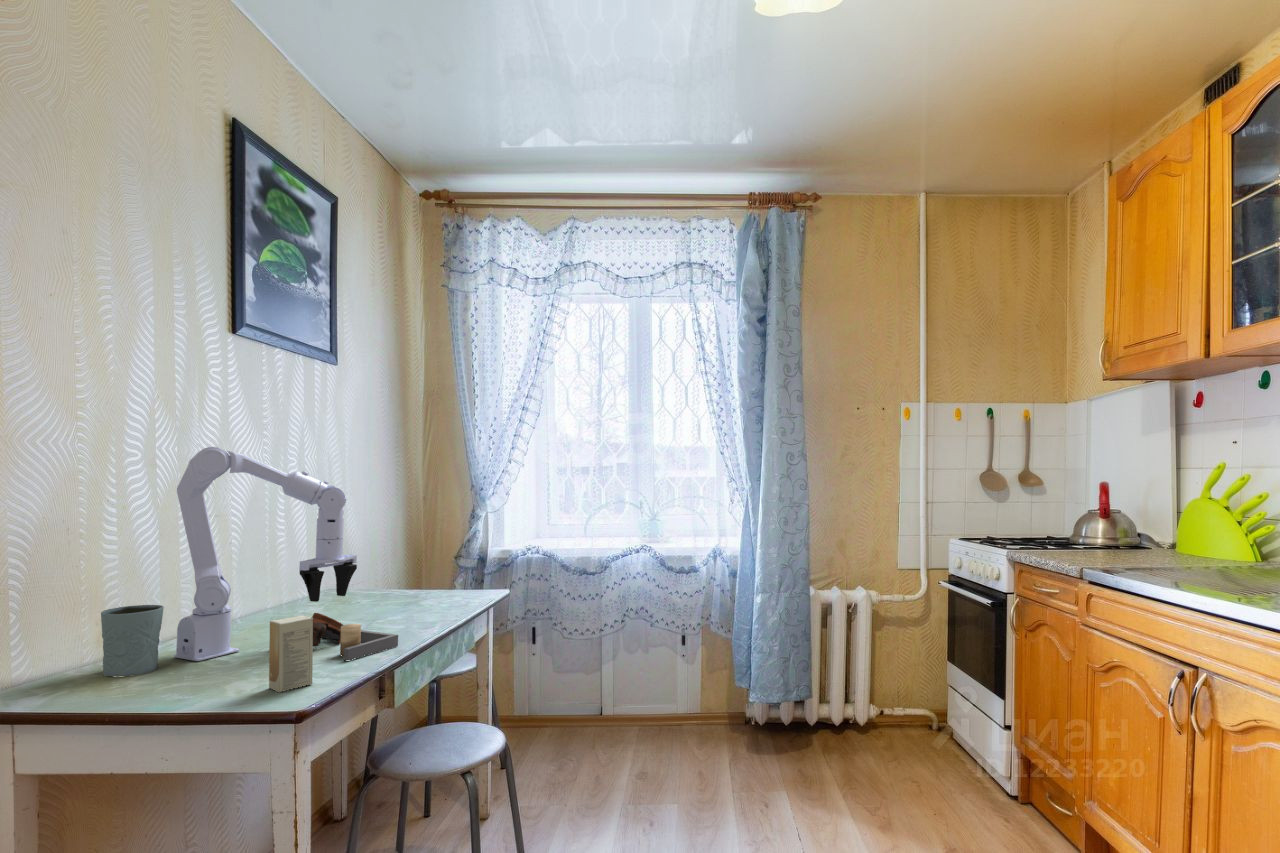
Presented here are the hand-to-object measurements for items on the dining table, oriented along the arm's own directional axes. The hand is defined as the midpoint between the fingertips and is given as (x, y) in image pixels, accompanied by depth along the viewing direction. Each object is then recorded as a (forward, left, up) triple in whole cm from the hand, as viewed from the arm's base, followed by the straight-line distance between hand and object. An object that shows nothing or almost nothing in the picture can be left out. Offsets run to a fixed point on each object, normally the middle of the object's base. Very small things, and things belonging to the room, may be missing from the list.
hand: (328, 598), depth 164 cm
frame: (-3, -6, -10) cm, 12 cm away
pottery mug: (-3, -1, -10) cm, 11 cm away
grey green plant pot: (-33, +16, -10) cm, 38 cm away
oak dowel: (-6, -13, -10) cm, 17 cm away
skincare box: (-27, -21, -10) cm, 36 cm away
